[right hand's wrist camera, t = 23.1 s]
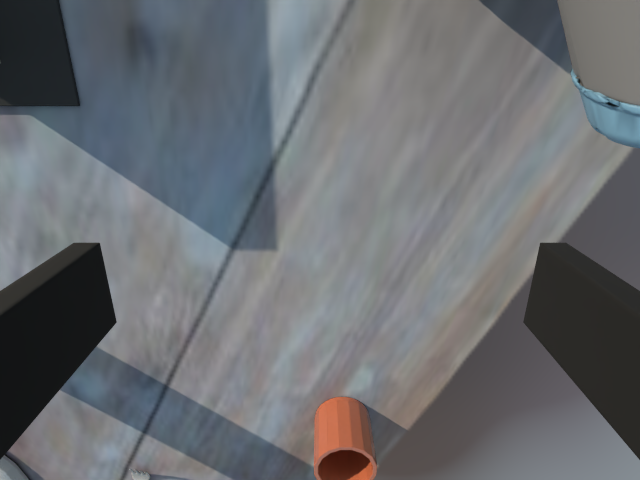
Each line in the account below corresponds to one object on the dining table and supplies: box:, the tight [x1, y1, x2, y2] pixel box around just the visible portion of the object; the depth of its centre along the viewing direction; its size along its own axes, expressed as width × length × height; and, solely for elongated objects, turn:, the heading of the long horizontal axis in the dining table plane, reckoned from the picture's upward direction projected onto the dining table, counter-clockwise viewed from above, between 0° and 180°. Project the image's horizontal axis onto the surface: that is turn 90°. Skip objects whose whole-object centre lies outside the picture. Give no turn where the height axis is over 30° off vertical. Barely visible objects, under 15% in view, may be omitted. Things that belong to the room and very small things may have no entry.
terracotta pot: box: [314, 397, 377, 480], centre depth 52 cm, size 7×7×8 cm
